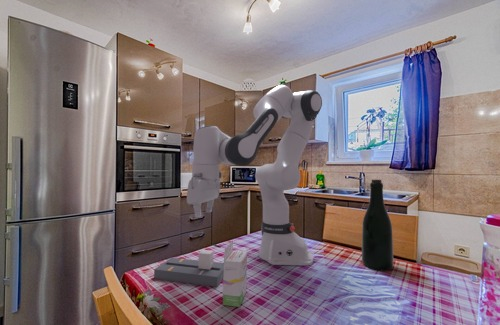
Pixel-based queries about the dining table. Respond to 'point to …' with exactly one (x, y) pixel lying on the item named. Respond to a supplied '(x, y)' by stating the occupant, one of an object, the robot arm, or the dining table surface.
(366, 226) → the beer bottle
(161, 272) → the slider console
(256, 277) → the dining table surface
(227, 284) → the ink box
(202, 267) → the fader cap
